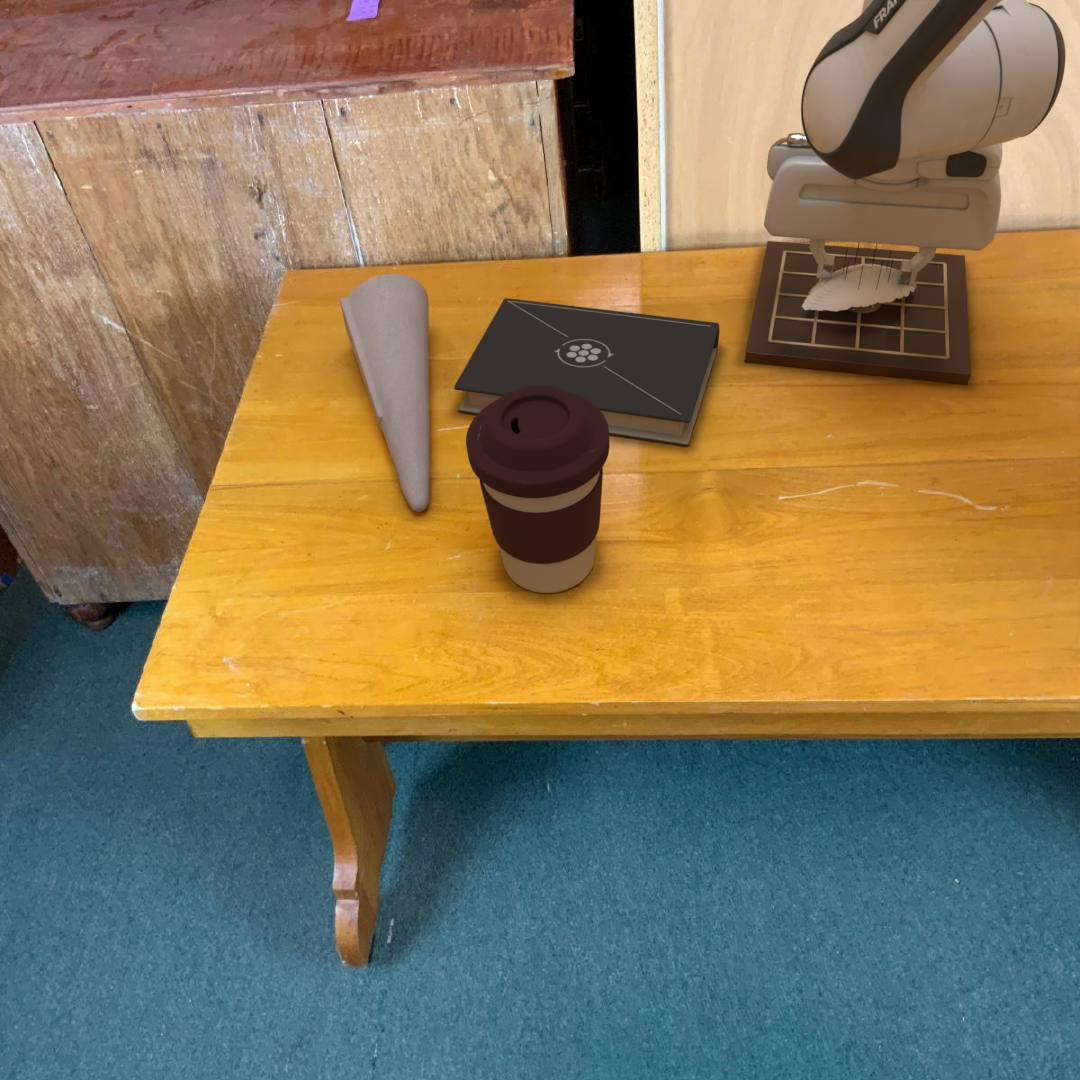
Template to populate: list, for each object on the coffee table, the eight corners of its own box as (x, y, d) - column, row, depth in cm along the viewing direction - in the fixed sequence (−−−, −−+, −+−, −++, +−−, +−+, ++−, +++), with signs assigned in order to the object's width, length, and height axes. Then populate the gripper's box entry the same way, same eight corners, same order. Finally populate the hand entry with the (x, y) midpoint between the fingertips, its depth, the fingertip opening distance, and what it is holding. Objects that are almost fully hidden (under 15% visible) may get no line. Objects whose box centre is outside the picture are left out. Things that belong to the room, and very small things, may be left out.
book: (718, 347, 93) (720, 321, 91) (688, 447, 83) (690, 421, 81) (507, 321, 98) (505, 295, 96) (457, 412, 89) (453, 387, 87)
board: (961, 265, 99) (965, 253, 98) (967, 384, 86) (971, 373, 86) (766, 250, 104) (767, 239, 103) (744, 362, 91) (745, 350, 90)
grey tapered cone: (505, 455, 78) (423, 265, 92) (402, 483, 76) (335, 285, 91) (509, 514, 84) (431, 327, 98) (413, 540, 82) (349, 346, 97)
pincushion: (816, 330, 91) (825, 278, 87) (788, 297, 95) (795, 245, 91) (930, 304, 93) (944, 252, 89) (898, 272, 97) (910, 221, 93)
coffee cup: (631, 535, 77) (631, 388, 66) (580, 626, 71) (570, 481, 60) (522, 502, 80) (504, 357, 69) (464, 586, 75) (435, 442, 63)
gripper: (766, 148, 82) (751, 287, 93) (1022, 161, 78) (976, 306, 88) (774, 116, 86) (759, 253, 97) (1017, 127, 82) (974, 269, 92)
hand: (864, 279), depth 92 cm, fingers closed on pincushion, 6 cm apart
